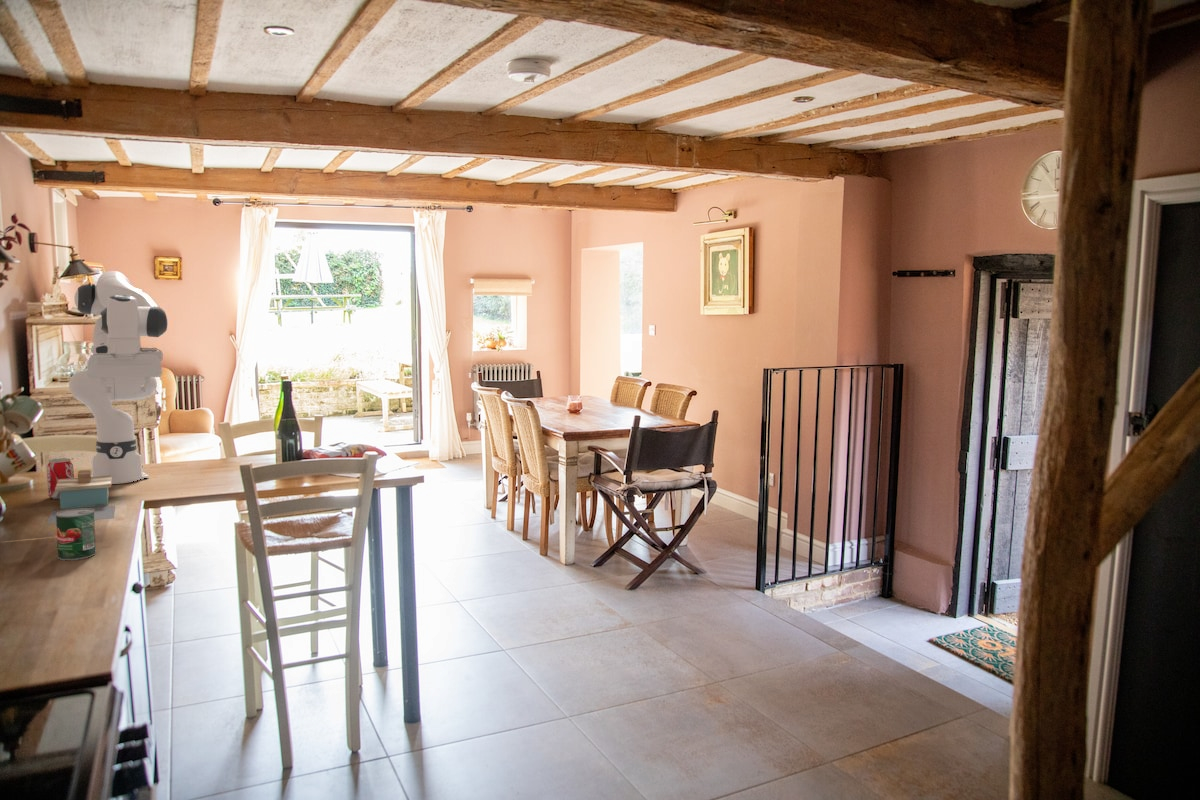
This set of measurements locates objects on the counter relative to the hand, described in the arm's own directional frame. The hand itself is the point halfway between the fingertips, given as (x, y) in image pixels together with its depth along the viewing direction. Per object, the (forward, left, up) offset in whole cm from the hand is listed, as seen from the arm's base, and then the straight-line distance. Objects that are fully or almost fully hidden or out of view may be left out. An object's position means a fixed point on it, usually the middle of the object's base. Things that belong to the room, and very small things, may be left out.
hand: (126, 392), depth 252 cm
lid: (+2, -12, -28) cm, 31 cm away
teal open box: (+2, -12, -34) cm, 36 cm away
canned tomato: (+61, -11, -34) cm, 71 cm away
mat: (+18, -12, -34) cm, 40 cm away
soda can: (-11, -19, -34) cm, 41 cm away
